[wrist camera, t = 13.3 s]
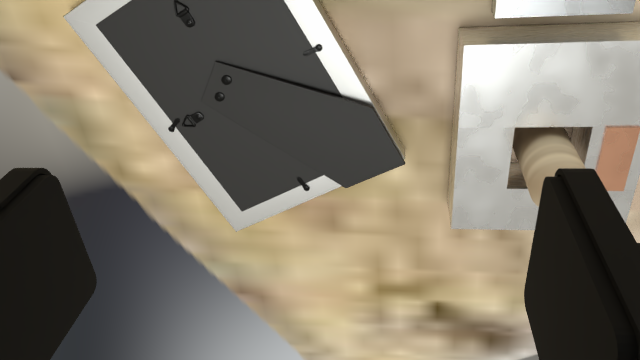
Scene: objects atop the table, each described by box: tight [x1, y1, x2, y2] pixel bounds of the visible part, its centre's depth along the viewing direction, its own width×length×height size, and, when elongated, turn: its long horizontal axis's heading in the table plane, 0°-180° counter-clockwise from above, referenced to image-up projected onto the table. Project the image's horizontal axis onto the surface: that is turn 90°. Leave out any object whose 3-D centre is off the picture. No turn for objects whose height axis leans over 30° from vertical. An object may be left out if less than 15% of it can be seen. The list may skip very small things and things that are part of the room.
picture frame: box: [63, 0, 405, 232], centre depth 40 cm, size 16×3×21 cm
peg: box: [512, 127, 585, 207], centre depth 37 cm, size 4×4×7 cm
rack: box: [448, 0, 640, 230], centre depth 36 cm, size 21×12×4 cm, turn 4°
